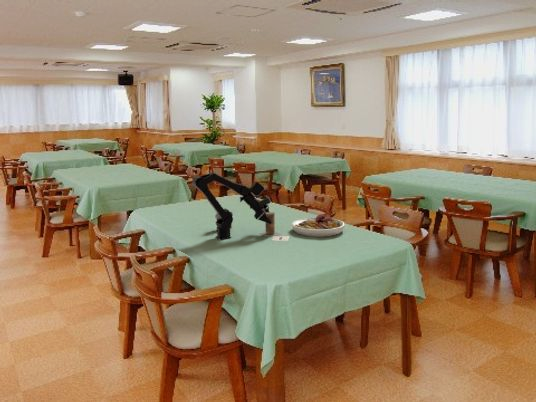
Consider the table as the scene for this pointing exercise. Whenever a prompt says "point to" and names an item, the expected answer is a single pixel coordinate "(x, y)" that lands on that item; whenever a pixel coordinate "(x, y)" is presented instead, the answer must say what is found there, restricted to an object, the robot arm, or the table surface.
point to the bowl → (318, 226)
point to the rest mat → (269, 235)
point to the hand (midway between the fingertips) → (272, 221)
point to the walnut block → (270, 227)
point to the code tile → (280, 238)
